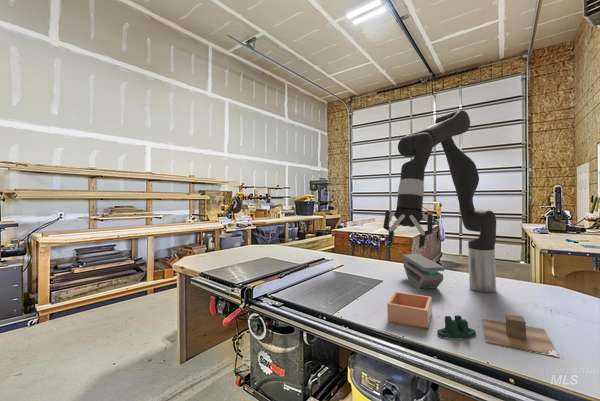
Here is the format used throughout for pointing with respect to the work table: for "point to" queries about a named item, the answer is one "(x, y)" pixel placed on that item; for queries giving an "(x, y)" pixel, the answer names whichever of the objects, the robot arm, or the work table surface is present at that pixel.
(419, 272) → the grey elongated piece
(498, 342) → the lid
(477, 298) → the work table surface
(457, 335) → the mount
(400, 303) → the open storage bin
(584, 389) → the work table surface
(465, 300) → the work table surface
